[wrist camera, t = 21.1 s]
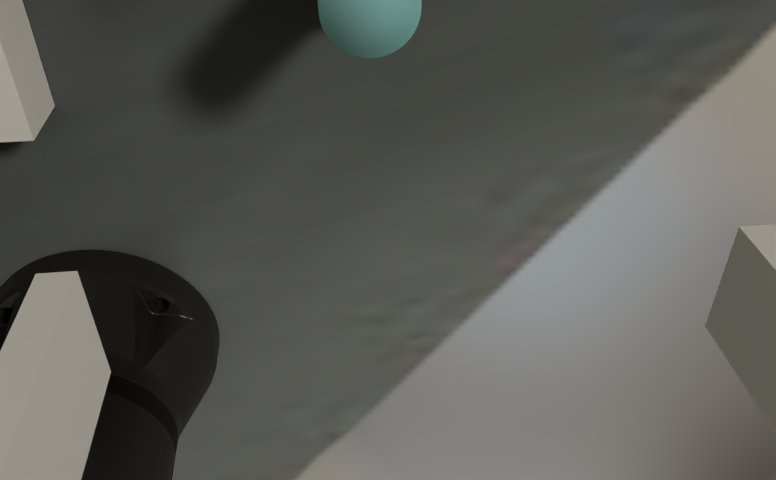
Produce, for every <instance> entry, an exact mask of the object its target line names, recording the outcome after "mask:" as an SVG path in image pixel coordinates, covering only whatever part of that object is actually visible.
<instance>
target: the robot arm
mask: <svg viewBox="0 0 776 480" xmlns="http://www.w3.org/2000/svg"><path fill="white" fill-rule="evenodd" d="M705 326H706V328H707V330H708V331H709V333H710V334H711V336H712V337H713V339H714V340H715V342H716V343H717V345H718V346H719V348H720V350H721V351H722V352H723V354H724V356H725V357H726V359H727V360H728V362H729V363H730V365H731V366H732V368H733V369H734V371H735V372H736V374H737V376H738V377H739V379H740V380H741V382H742V383H743V385H744V386H745V388H746V389H747V391H748V392H749V394H750V395H751V397H752V398H753V400H754V402H755V403H756V405H757V406H758V407H759V409H760V411H761V412H762V414H763V415H764V417H765V418H766V420H767V421H768V423H769V424H770V426H771V427H772V429H773V430H774V432H775V434H776V225H775V224H774V225H759V226H744V227H739V229H738V232H737V235H736V238H735V241H734V244H733V246H732V249H731V252H730V255H729V258H728V261H727V264H726V267H725V270H724V273H723V276H722V278H721V282H720V284H719V287H718V290H717V293H716V296H715V299H714V302H713V305H712V308H711V311H710V313H709V316H708V319H707V322H706V325H705ZM218 350H219V329H218V325H217V321H216V319H215V316H214V314H213V312H212V310H211V308H210V306H209V305H208V303H207V302H206V300H205V299H204V298H203V297H202V295H201V294H200V293H199V292H198V291H197V290H196V289H195V288H194V287H193V286H192V285H191V284H189V283H188V282H187V281H186V280H184V279H183V278H182V277H180V276H179V275H177V274H176V273H174V272H172V271H171V270H169V269H167V268H165V267H163V266H161V265H159V264H157V263H154V262H152V261H149V260H146V259H143V258H140V257H137V256H133V255H129V254H125V253H120V252H113V251H103V250H79V251H70V252H63V253H59V254H54V255H51V256H48V257H45V258H42V259H39V260H37V261H35V262H33V263H31V264H29V265H27V266H25V267H24V268H22V269H21V270H19V271H18V272H17V273H15V274H14V275H13V276H12V277H11V278H10V279H9V280H8V281H7V282H6V283H5V284H4V286H3V287H2V289H1V290H0V480H172V476H173V469H174V462H175V455H176V449H177V443H178V438H179V436H180V434H181V433H182V431H183V429H184V428H185V426H186V424H187V423H188V421H189V419H190V418H191V416H192V414H193V413H194V411H195V409H196V408H197V406H198V404H199V403H200V401H201V399H202V398H203V396H204V394H205V393H206V391H207V390H208V388H209V386H210V384H211V382H212V379H213V376H214V373H215V370H216V365H217V357H218Z"/></svg>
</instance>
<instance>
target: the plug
mask: <svg viewBox="0 0 776 480" xmlns="http://www.w3.org/2000/svg"><path fill="white" fill-rule="evenodd" d="M318 13H319V19H320V23H321V26H322V28H323V30H324V32H325V34H326V36H327V37H328V38H329V40H330V41H331V42H332V43H333V44H334V45H335V46H336V47H337V48H339V49H340V50H342V51H343V52H345V53H347V54H349V55H352V56H355V57H359V58H378V57H383V56H386V55H389V54H391V53H393V52H395V51H396V50H398V49H400V48H401V47H402V46H403V45H404V44H406V42H407V41H408V40H409V39H410V38H411V36H412V35H413V34H414V32H415V30H416V28H417V26H418V23H419V20H420V16H421V0H318Z"/></svg>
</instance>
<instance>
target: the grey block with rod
mask: <svg viewBox="0 0 776 480" xmlns="http://www.w3.org/2000/svg"><path fill="white" fill-rule="evenodd" d="M54 107H55V105H54V102H53V99H52V95H51V92H50V89H49V86H48V82H47V79H46V76H45V73H44V69H43V66H42V63H41V60H40V56H39V53H38V50H37V47H36V43H35V40H34V37H33V33H32V30H31V27H30V24H29V20H28V17H27V14H26V11H25V7H24V4H23V1H22V0H0V142H18V141H34V140H35V138H36V136H37V135H38V133H39V131H40V130H41V128H42V126H43V125H44V123H45V121H46V120H47V118H48V116H49V115H50V113H51V111H52V110H53V108H54Z"/></svg>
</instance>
